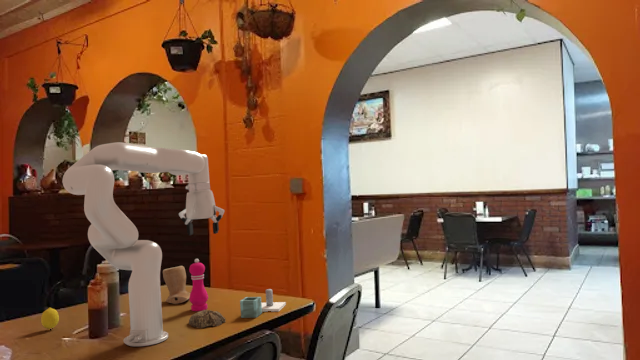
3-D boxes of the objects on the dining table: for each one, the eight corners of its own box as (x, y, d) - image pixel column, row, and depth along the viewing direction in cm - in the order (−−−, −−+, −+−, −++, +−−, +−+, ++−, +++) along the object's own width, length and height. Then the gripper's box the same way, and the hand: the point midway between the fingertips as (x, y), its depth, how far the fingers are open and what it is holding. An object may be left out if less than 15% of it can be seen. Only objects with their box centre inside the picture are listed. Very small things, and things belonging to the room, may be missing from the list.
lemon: (39, 333, 166) (38, 310, 166) (44, 329, 171) (43, 306, 171) (57, 331, 167) (56, 308, 167) (61, 326, 172) (60, 305, 173)
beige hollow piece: (168, 298, 211) (166, 264, 212) (195, 296, 212) (193, 262, 213) (158, 306, 196) (156, 270, 197) (187, 304, 197) (185, 268, 197)
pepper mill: (211, 306, 190) (208, 256, 190) (205, 311, 183) (202, 259, 183) (193, 307, 190) (191, 257, 191) (187, 312, 183) (184, 260, 184)
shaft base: (279, 311, 175) (277, 292, 176) (253, 311, 177) (252, 293, 177) (285, 304, 185) (284, 286, 185) (261, 305, 187) (260, 287, 187)
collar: (256, 317, 169) (255, 300, 169) (241, 317, 170) (240, 301, 170) (262, 313, 175) (261, 296, 175) (246, 313, 176) (245, 297, 176)
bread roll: (186, 323, 168) (185, 309, 169) (220, 316, 174) (219, 303, 174) (194, 331, 157) (193, 316, 157) (230, 324, 163) (229, 310, 163)
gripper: (172, 189, 171) (176, 236, 171) (218, 186, 169) (222, 234, 169) (181, 189, 179) (185, 234, 179) (225, 185, 176) (229, 231, 176)
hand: (203, 234), depth 174 cm, fingers open, 9 cm apart
